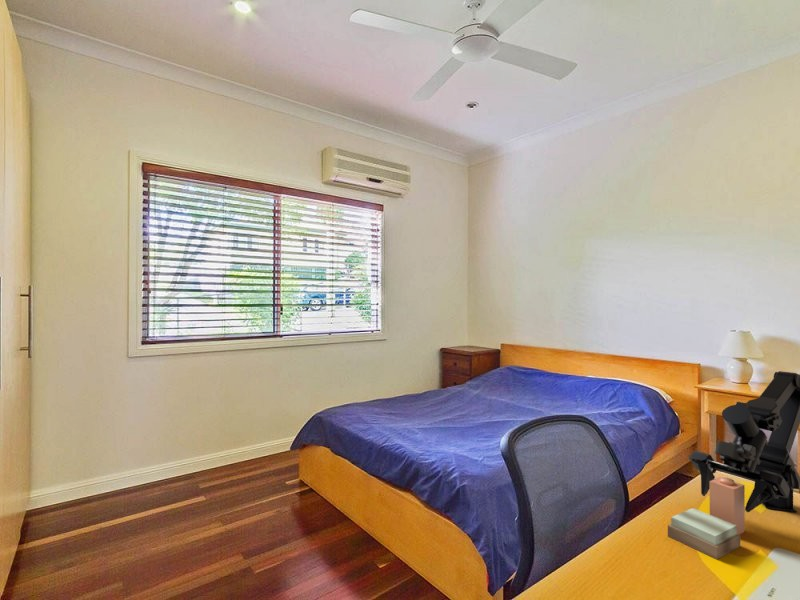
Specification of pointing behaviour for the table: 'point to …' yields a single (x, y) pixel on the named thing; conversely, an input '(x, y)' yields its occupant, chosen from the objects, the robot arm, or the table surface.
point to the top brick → (728, 501)
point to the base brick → (704, 533)
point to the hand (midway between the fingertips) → (723, 502)
